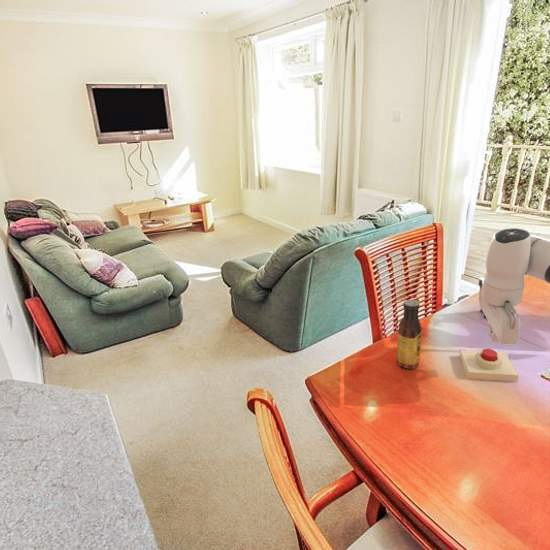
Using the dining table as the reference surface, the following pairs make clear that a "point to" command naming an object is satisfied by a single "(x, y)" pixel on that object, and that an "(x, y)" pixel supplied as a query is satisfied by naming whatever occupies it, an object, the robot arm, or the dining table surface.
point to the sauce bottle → (409, 336)
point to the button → (489, 355)
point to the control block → (488, 366)
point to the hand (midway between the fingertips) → (493, 338)
